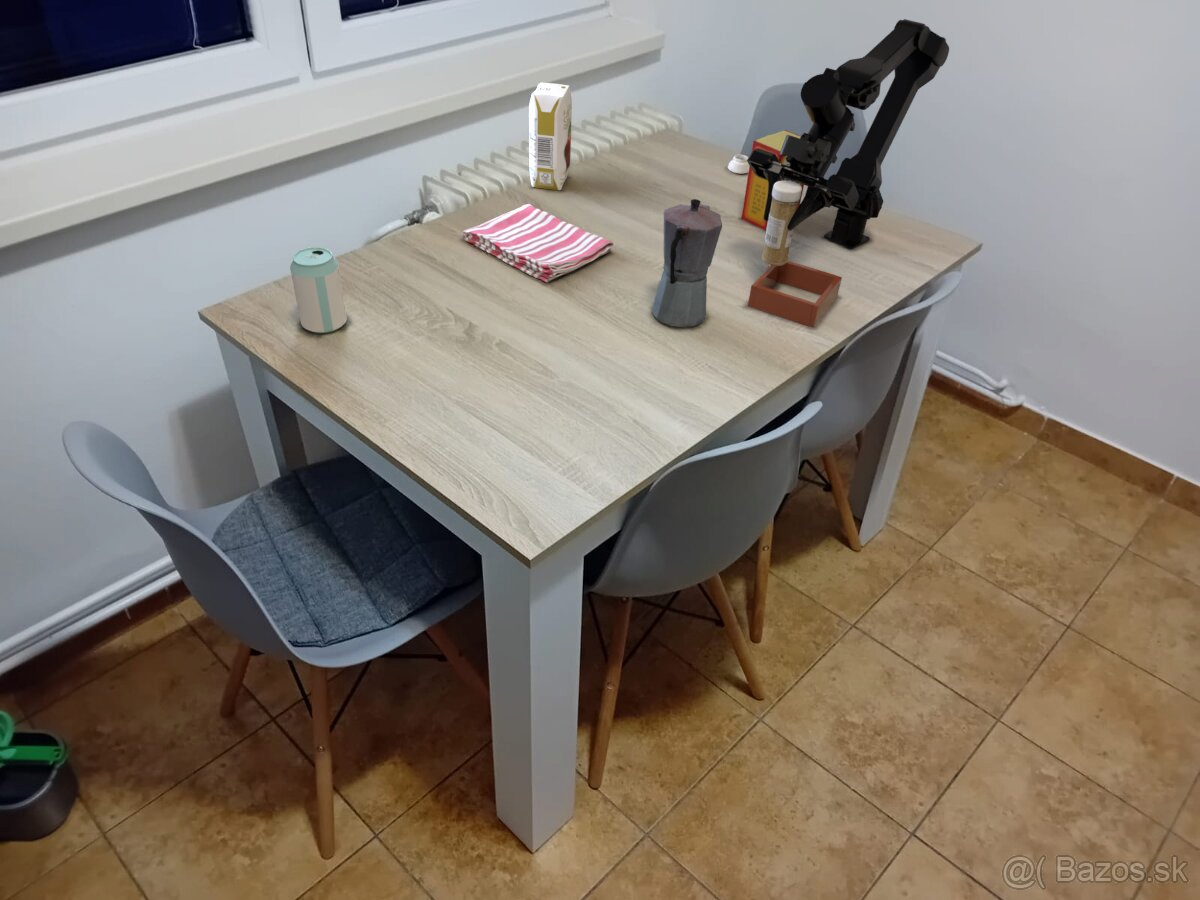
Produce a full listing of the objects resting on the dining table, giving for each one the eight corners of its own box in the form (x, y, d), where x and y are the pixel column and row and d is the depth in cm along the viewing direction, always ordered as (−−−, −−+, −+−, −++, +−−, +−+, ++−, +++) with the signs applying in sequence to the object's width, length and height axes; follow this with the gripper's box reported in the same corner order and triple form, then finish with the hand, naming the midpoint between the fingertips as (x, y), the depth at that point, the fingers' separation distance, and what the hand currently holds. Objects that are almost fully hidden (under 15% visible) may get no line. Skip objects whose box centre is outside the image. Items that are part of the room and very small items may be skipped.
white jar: (749, 176, 195) (751, 167, 199) (751, 163, 193) (753, 154, 197) (726, 173, 196) (728, 164, 200) (728, 160, 194) (730, 151, 198)
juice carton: (527, 188, 185) (526, 94, 173) (536, 171, 192) (536, 79, 180) (563, 193, 185) (565, 98, 172) (571, 176, 191) (574, 83, 179)
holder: (774, 277, 162) (778, 257, 159) (837, 297, 158) (842, 277, 155) (747, 306, 154) (751, 285, 152) (813, 327, 150) (818, 306, 147)
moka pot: (718, 300, 155) (734, 189, 142) (695, 346, 144) (711, 230, 131) (664, 288, 157) (676, 178, 144) (637, 333, 146) (648, 218, 133)
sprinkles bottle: (792, 264, 153) (807, 189, 144) (769, 269, 152) (783, 193, 143) (778, 252, 156) (792, 177, 147) (755, 256, 155) (768, 181, 146)
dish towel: (550, 286, 156) (550, 268, 154) (459, 239, 167) (458, 222, 165) (615, 253, 166) (616, 236, 164) (526, 211, 177) (525, 194, 175)
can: (298, 316, 145) (284, 248, 137) (342, 308, 147) (331, 241, 140) (305, 339, 140) (292, 270, 133) (351, 331, 143) (340, 262, 135)
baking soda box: (772, 206, 185) (786, 128, 174) (797, 217, 181) (813, 138, 171) (741, 218, 180) (753, 139, 169) (766, 231, 176) (780, 150, 166)
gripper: (762, 98, 145) (714, 184, 146) (866, 131, 136) (815, 222, 137) (779, 133, 155) (734, 214, 156) (878, 166, 146) (830, 251, 147)
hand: (776, 224), depth 149 cm, fingers closed on sprinkles bottle, 4 cm apart
